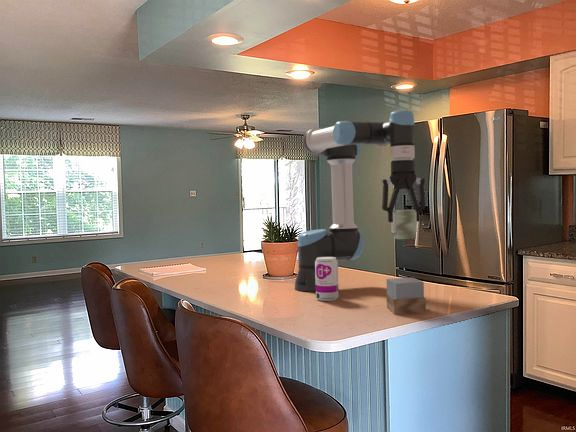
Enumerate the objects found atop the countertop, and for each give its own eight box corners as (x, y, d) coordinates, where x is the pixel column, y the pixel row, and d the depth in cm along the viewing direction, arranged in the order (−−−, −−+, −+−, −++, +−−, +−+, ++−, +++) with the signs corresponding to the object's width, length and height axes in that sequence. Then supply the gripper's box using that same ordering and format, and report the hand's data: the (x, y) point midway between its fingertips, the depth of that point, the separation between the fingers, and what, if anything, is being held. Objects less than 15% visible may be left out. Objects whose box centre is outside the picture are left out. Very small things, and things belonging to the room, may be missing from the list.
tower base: (394, 315, 162) (393, 299, 162) (386, 308, 172) (386, 293, 172) (425, 314, 162) (425, 298, 162) (416, 307, 172) (416, 292, 172)
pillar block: (397, 239, 163) (396, 210, 163) (392, 237, 169) (392, 210, 169) (416, 238, 164) (415, 210, 163) (410, 237, 170) (410, 209, 169)
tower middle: (396, 299, 162) (396, 283, 161) (386, 294, 171) (386, 278, 170) (423, 297, 163) (423, 282, 163) (413, 292, 172) (412, 277, 172)
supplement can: (332, 302, 182) (331, 259, 181) (311, 300, 186) (310, 258, 185) (342, 298, 189) (341, 257, 188) (322, 296, 193) (321, 256, 192)
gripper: (375, 159, 161) (377, 234, 162) (435, 158, 162) (437, 232, 163) (370, 161, 169) (372, 232, 170) (428, 160, 170) (429, 230, 171)
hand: (403, 232), depth 166 cm, fingers closed on pillar block, 6 cm apart
